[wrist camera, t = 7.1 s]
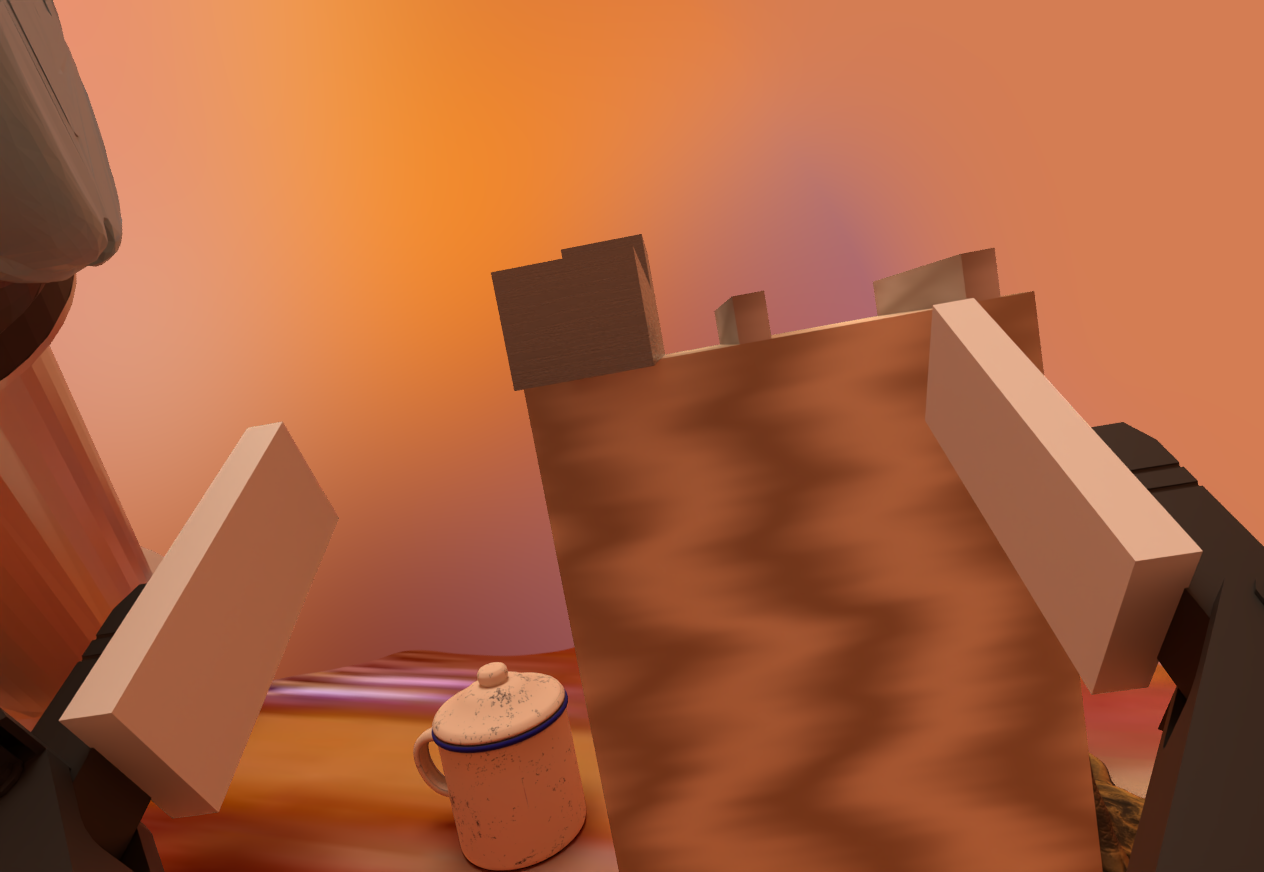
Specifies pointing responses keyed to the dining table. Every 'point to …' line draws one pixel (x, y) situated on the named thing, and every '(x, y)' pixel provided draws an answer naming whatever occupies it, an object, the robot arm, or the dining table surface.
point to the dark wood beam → (580, 314)
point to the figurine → (1114, 818)
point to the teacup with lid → (507, 768)
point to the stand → (809, 607)
